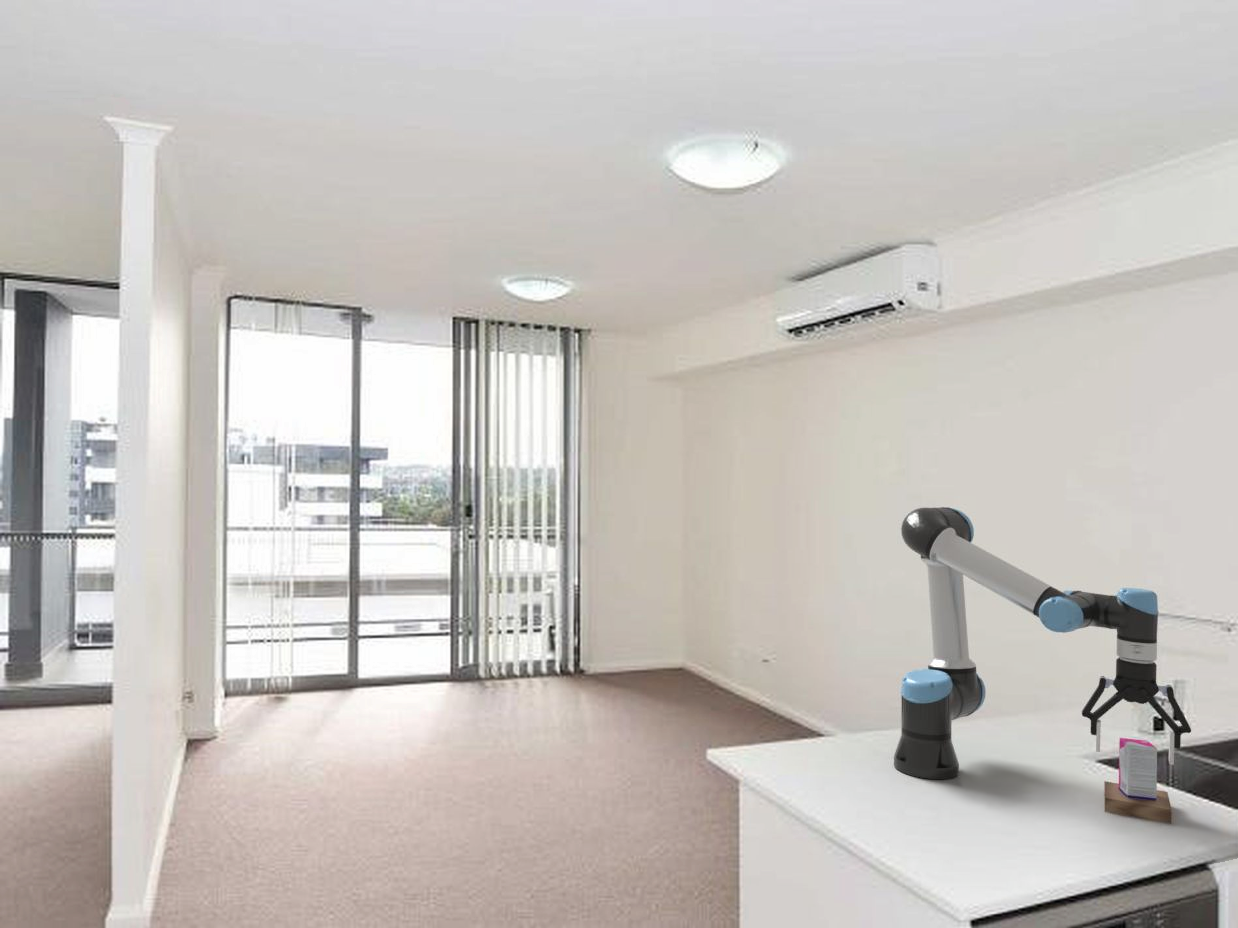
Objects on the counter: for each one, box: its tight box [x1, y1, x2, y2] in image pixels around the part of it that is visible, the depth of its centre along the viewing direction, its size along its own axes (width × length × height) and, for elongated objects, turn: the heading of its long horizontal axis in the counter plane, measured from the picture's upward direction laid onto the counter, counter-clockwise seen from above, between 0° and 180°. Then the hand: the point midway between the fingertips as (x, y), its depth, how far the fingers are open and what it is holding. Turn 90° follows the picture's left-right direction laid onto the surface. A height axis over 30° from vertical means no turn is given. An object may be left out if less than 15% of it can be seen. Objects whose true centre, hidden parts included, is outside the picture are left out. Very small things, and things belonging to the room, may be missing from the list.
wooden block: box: [1103, 780, 1173, 825], centre depth 179 cm, size 12×12×3 cm
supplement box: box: [1118, 737, 1158, 801], centre depth 179 cm, size 6×6×12 cm
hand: (1133, 756), depth 179 cm, fingers open, 13 cm apart
